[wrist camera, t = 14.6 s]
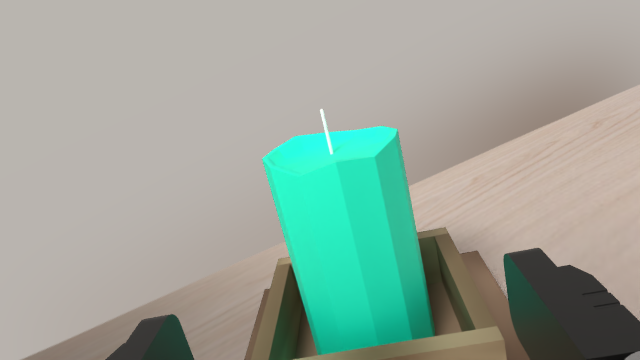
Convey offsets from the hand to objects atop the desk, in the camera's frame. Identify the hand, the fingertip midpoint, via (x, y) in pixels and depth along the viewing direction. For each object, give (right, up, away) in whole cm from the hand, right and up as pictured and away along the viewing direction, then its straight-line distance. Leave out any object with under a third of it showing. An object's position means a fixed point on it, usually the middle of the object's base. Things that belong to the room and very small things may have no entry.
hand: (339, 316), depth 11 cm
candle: (+2, -5, +12) cm, 13 cm away
